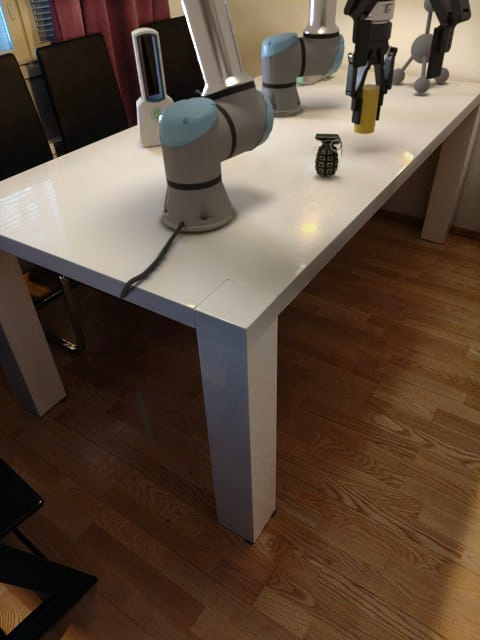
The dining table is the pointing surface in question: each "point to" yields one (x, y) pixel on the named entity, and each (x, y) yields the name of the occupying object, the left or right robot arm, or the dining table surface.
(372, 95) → the canister
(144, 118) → the electronic device
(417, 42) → the molecular model
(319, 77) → the decorative block
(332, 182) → the dining table surface
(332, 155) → the grenade
